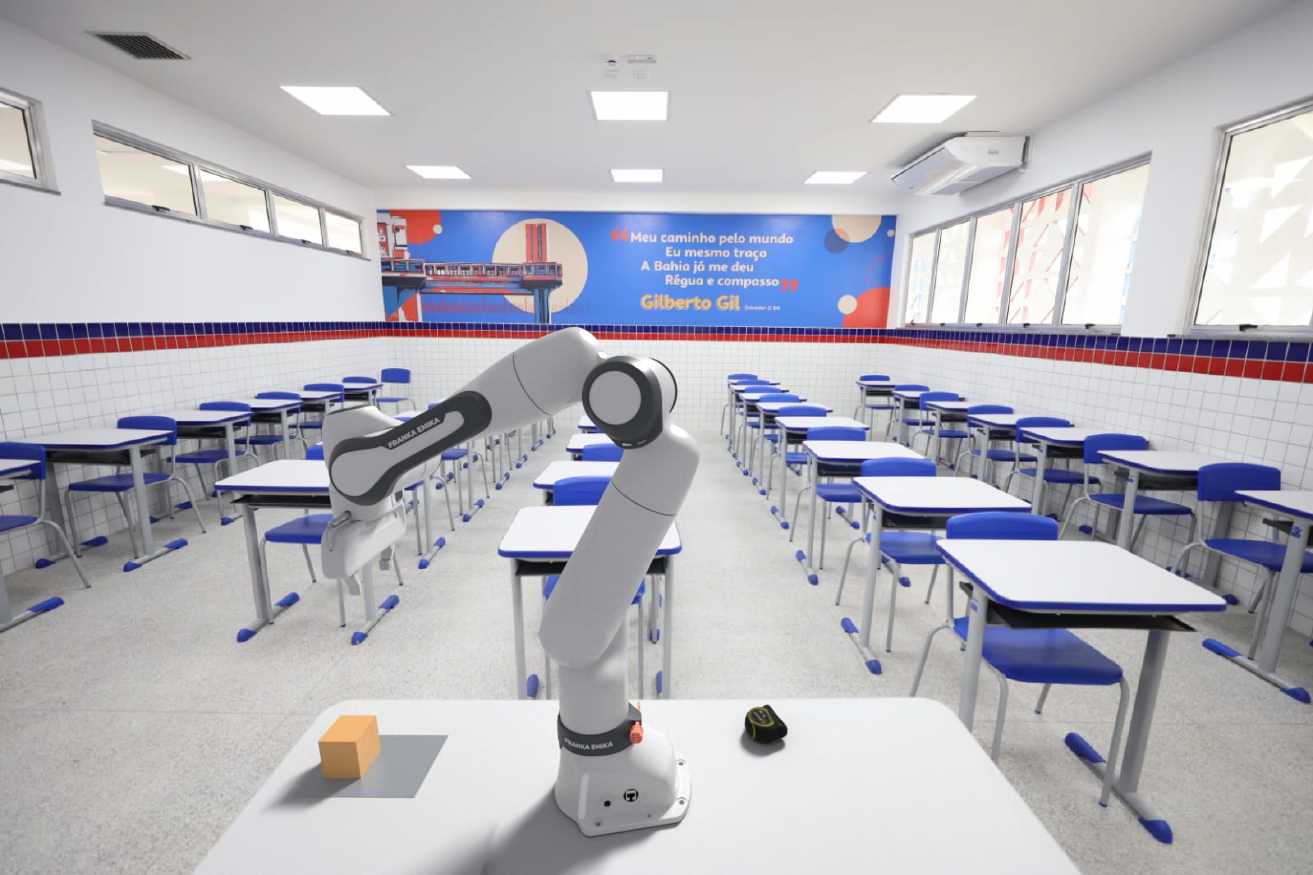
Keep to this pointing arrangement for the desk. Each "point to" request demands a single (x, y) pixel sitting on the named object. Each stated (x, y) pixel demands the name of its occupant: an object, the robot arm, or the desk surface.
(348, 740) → the amber rectangular brick
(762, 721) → the tape measure
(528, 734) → the desk surface
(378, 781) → the plate
